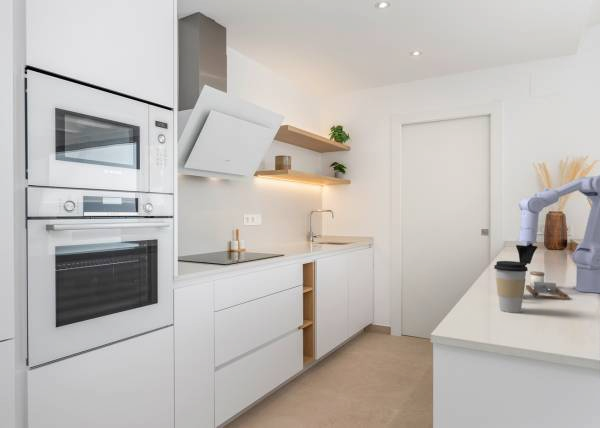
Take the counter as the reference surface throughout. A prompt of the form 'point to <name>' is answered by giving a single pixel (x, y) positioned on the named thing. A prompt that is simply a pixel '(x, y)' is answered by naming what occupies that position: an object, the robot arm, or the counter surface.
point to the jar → (536, 277)
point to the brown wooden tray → (561, 296)
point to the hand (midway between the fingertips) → (525, 264)
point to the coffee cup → (510, 285)
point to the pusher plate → (545, 287)
